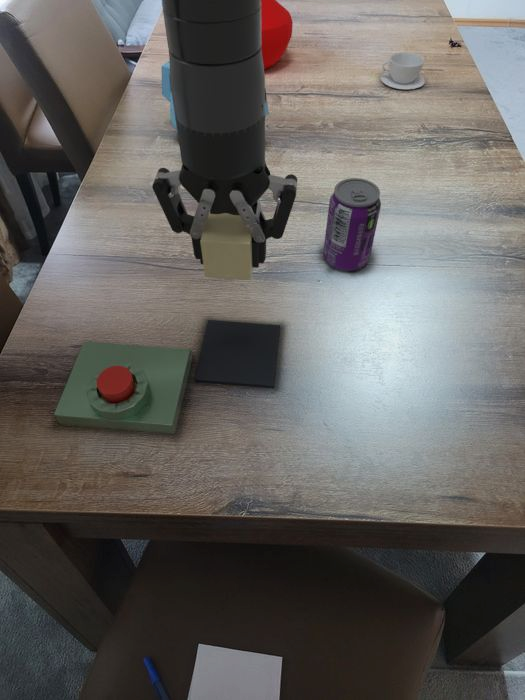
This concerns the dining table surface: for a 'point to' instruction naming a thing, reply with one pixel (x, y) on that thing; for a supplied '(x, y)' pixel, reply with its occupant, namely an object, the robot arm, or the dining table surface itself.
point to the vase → (274, 31)
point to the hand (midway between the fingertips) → (231, 260)
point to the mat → (239, 354)
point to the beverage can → (351, 223)
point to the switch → (115, 383)
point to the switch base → (147, 398)
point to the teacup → (403, 71)
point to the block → (226, 247)
